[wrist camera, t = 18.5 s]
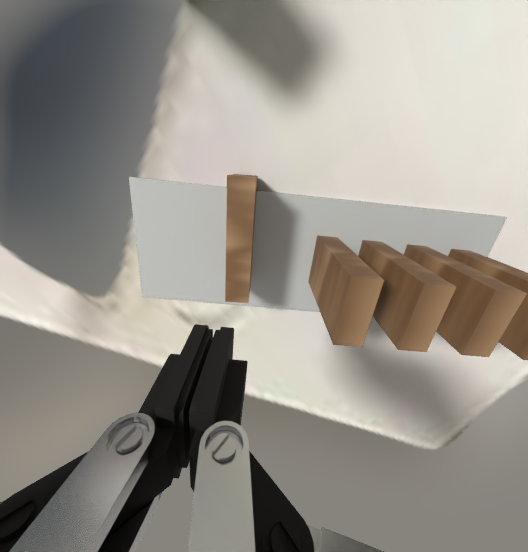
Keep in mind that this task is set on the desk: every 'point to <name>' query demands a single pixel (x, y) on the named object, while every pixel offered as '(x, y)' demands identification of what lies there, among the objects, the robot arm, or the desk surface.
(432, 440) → the desk surface
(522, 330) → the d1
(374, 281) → the d4
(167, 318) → the desk surface
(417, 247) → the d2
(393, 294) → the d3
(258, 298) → the runner mat
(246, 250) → the domino
